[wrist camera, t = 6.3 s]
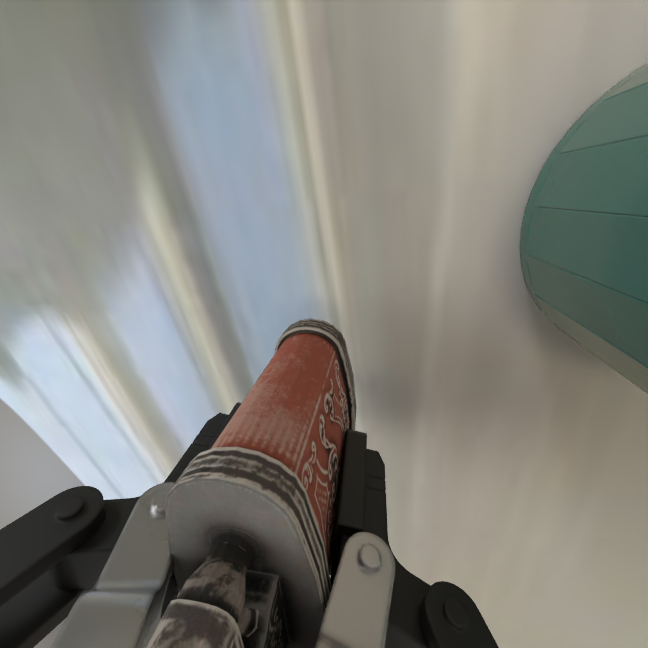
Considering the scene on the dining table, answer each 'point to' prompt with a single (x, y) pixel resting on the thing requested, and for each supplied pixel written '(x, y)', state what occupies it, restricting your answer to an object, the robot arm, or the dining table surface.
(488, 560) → the dining table surface
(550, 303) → the ceramic cup
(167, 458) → the dining table surface
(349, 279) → the dining table surface
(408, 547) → the dining table surface
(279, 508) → the lighter
